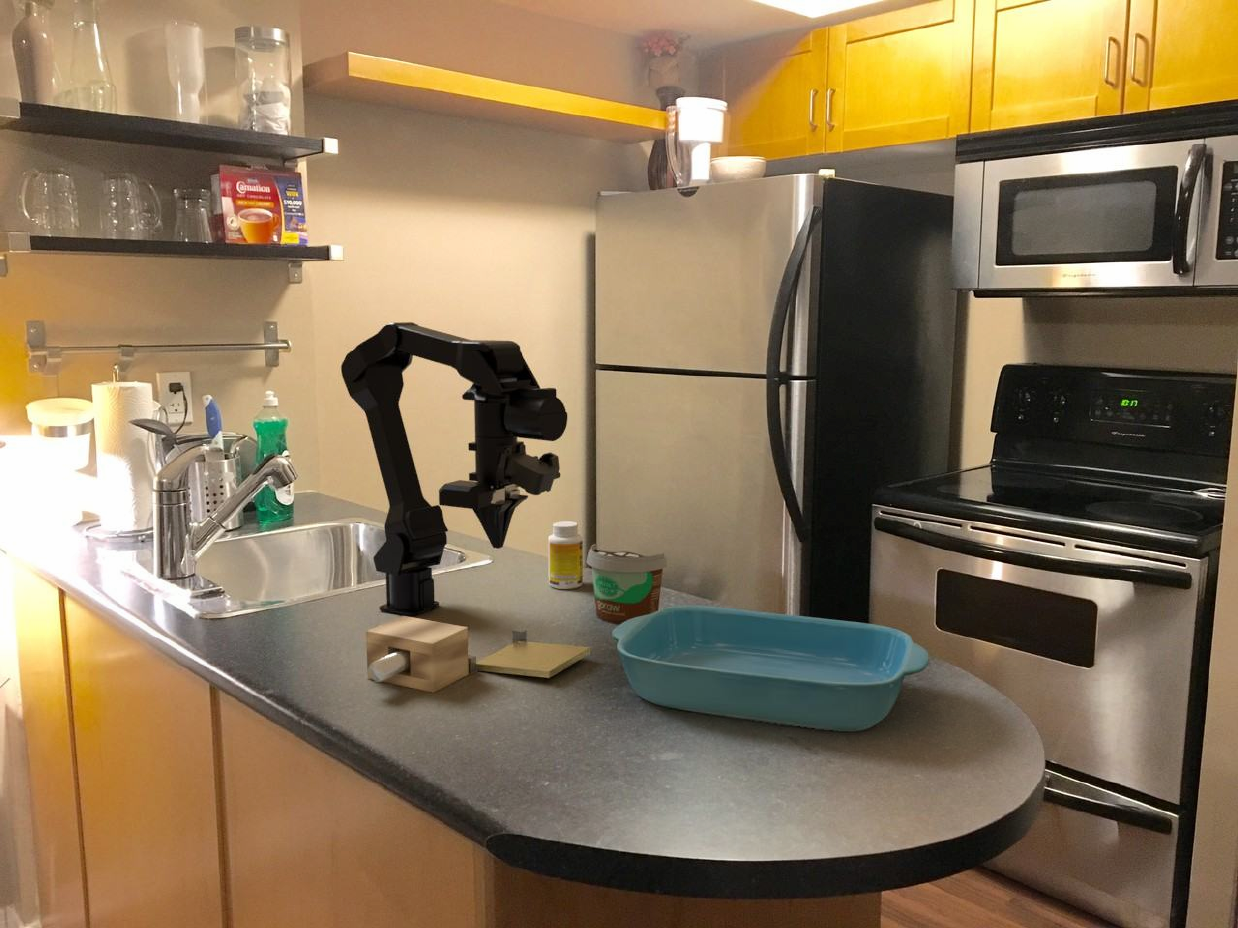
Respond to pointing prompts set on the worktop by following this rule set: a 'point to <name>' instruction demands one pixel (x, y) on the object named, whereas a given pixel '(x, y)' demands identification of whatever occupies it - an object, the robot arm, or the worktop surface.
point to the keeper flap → (532, 659)
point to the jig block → (421, 651)
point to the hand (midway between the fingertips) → (497, 547)
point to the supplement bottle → (565, 556)
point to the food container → (625, 584)
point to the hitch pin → (390, 665)
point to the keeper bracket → (517, 636)
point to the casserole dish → (768, 665)
